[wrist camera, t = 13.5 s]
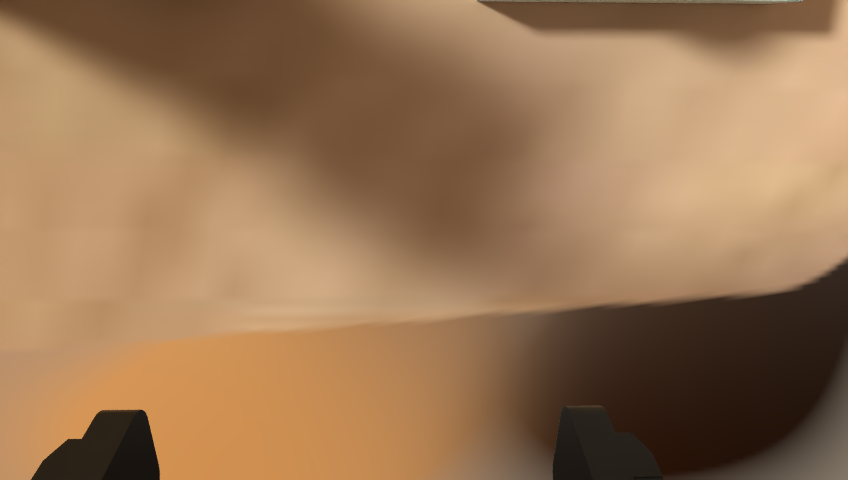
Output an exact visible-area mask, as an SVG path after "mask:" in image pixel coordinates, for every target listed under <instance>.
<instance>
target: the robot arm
mask: <svg viewBox="0 0 848 480" xmlns="http://www.w3.org/2000/svg"><path fill="white" fill-rule="evenodd" d="M31 480H160V471H159V464H158V460H157V455H156V451H155V447H154V443H153V439H152V434H151V430H150V425H149V421H148V417H147V415H146V413H145V411H143V410H102V411H100V412H99V413H98V414H97V415H96V416H95V417H94V419H93V421H92V423H91V424H90V426H89V428H88V429H87V431H86V433H85V434H84V436H83V438H82V439H68V440H67V441H65V442H64V443H63V444H62V445H61V446H60V447H59V448H57V449H56V450H55V451H54V452H53V453H51V454H50V455H49V456H48V457H47V458H46V459H45V460H43V462H42V463H41V465H40V467H39V468H38V470H37V471H36V473H35V474H34V476H33V477H32V479H31ZM553 480H663V476H662V474H661V471H660V469H659V468H658V465H657V463H656V461H655V459H654V457H653V455H652V453H651V452H650V451H649V450H648V449H647V448H646V447H645V446H644V445H643V444H642V443H641V442H640V441H639V440H638V439H637V438H636V437H635V436H634V435H633V434H632V433H615V431H614V429H613V427H612V424H611V422H610V420H609V417H608V415H607V412H606V411H605V409H604V407H603V406H564V407H563V408H562V411H561V416H560V422H559V428H558V434H557V440H556V447H555V453H554V459H553Z"/></svg>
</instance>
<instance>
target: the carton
mask: <svg viewBox="0 0 848 480" xmlns="http://www.w3.org/2000/svg"><path fill="white" fill-rule="evenodd" d="M477 1H504V2H613V3H722V4H775V3H789V2H802V1H803V0H477Z"/></svg>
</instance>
